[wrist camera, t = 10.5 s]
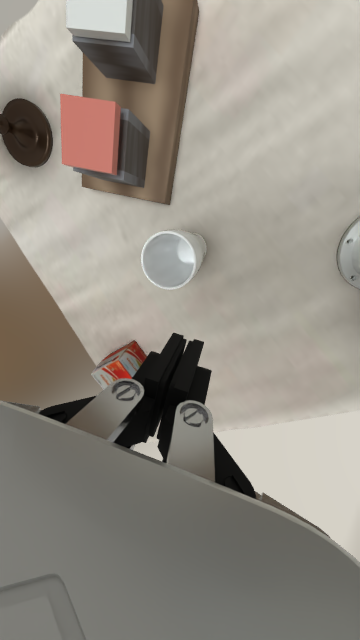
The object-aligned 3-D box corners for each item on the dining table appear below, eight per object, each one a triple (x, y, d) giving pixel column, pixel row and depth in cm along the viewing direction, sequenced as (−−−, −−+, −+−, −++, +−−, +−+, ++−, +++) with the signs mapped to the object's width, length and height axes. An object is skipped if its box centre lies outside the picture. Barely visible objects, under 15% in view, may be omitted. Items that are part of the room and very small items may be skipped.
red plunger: (144, 130, 31) (115, 101, 24) (139, 184, 34) (111, 173, 27) (101, 123, 32) (60, 93, 25) (99, 176, 35) (62, 163, 27)
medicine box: (109, 353, 53) (88, 373, 46) (134, 338, 50) (117, 357, 43) (147, 402, 56) (134, 428, 49) (174, 391, 53) (163, 417, 46)
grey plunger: (160, 8, 27) (131, -72, 20) (152, 80, 30) (124, 33, 23) (110, 3, 28) (64, -74, 21) (107, 74, 31) (66, 27, 23)
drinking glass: (165, 240, 40) (129, 249, 27) (199, 219, 38) (178, 217, 24) (184, 275, 42) (158, 299, 29) (218, 257, 39) (207, 274, 26)
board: (199, 10, 29) (181, -85, 20) (169, 204, 38) (148, 199, 29) (96, 2, 31) (38, -89, 22) (92, 188, 40) (50, 179, 31)
